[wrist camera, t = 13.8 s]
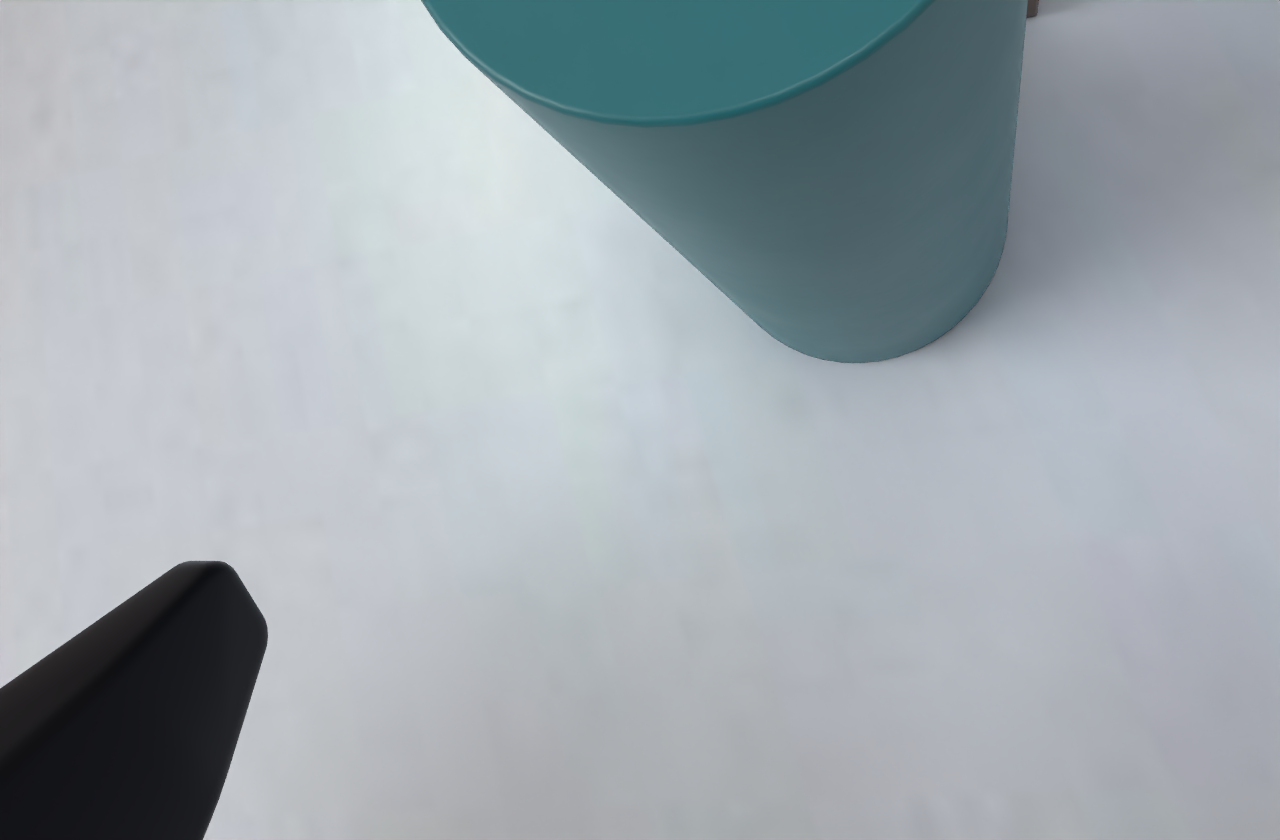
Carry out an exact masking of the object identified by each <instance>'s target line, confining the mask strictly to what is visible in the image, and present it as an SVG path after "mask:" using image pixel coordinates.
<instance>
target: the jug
mask: <svg viewBox="0 0 1280 840" xmlns="http://www.w3.org/2000/svg"><path fill="white" fill-rule="evenodd" d="M421 1H422V2H423V4H424V5H425V7H426V8H427V10H428V11H429V13H430V14H431V16H432V17H433V19H434V20H435V22H436V24H437V25H438V27H439V28H440V30H441V31H442V32H443V33H444V34H445V35H446V36H447V37H448V39H449V40H450V41H451V42H452V43H453V44H454V45H455V46H456V47H457V49H458V50H459V51H460V52H461V53H462V54H463V55H464V56H465V57H466V58H467V59H468V60H469V61H470V62H471V63H472V64H473V65H474V66H475V67H477V68H478V69H479V70H480V71H481V72H482V73H483V74H484V75H485V76H486V77H488V78H489V79H490V80H491V81H492V82H493V83H494V84H495V85H496V86H497V87H498V88H500V89H501V90H502V91H503V92H504V93H505V94H506V95H507V96H508V97H509V98H511V99H512V100H513V101H514V102H515V103H516V104H517V105H518V106H519V107H520V108H521V109H523V110H524V111H525V112H526V113H527V114H528V115H529V116H530V117H531V118H532V119H534V120H535V121H536V122H537V123H538V124H539V125H540V126H541V127H542V128H543V129H544V130H546V131H547V132H548V133H549V134H550V135H551V136H552V137H553V138H554V139H555V140H557V141H558V142H559V143H560V144H561V145H562V146H563V147H564V148H565V149H566V150H567V151H569V152H570V153H571V154H572V155H573V156H574V157H575V158H576V159H577V160H578V161H580V162H581V163H582V164H583V165H584V166H585V167H586V168H587V169H588V170H589V171H590V172H592V173H593V174H594V175H595V176H596V177H597V178H598V179H599V180H600V181H601V182H603V183H604V184H605V185H606V186H607V187H608V188H609V189H610V190H611V191H612V192H613V193H615V194H616V195H617V196H618V197H619V198H620V199H621V200H622V201H623V202H624V203H626V204H627V205H628V206H629V207H630V208H631V209H632V210H633V211H634V212H635V213H636V214H638V215H639V216H640V217H641V218H642V219H643V220H644V221H645V222H646V223H647V224H649V225H650V226H651V227H652V228H653V229H654V230H655V231H656V232H657V233H658V234H659V235H661V236H662V237H663V238H664V239H665V240H666V241H667V242H668V243H669V244H670V245H672V246H673V247H674V248H675V249H676V250H677V251H678V252H679V253H680V254H681V255H682V256H684V257H685V258H686V259H687V260H688V261H689V262H690V263H691V264H692V265H693V266H695V267H696V268H697V269H698V270H699V271H700V272H701V273H702V274H703V275H704V276H705V277H707V278H708V279H709V280H710V281H711V282H712V283H713V284H714V285H715V286H716V287H718V288H719V289H720V290H721V291H722V292H723V293H724V294H725V295H726V296H727V297H728V298H730V299H731V300H732V301H733V302H734V303H735V304H736V305H737V306H738V307H739V308H741V309H742V310H743V311H744V312H745V313H746V314H747V315H748V316H749V317H750V318H751V319H753V320H754V321H755V322H756V323H757V324H758V325H759V326H760V327H761V328H763V329H764V330H765V331H766V332H768V333H769V334H770V335H771V336H772V337H774V338H775V339H777V340H778V341H780V342H782V343H783V344H785V345H787V346H788V347H790V348H792V349H795V350H797V351H799V352H801V353H804V354H806V355H809V356H813V357H816V358H820V359H823V360H829V361H836V362H845V363H864V362H874V361H881V360H886V359H890V358H894V357H899V356H901V355H904V354H907V353H909V352H912V351H915V350H917V349H919V348H921V347H923V346H925V345H927V344H929V343H931V342H933V341H934V340H936V339H937V338H939V337H940V336H942V335H943V334H945V333H946V332H947V331H949V330H950V329H952V328H953V327H954V326H955V325H956V324H957V323H958V322H959V321H960V320H962V319H963V318H964V317H965V316H966V315H967V314H968V312H969V311H970V310H971V309H972V308H973V307H974V305H975V304H976V303H977V302H978V301H979V299H980V298H981V296H982V295H983V293H984V292H985V290H986V288H987V287H988V285H989V284H990V282H991V279H992V277H993V275H994V273H995V271H996V269H997V267H998V264H999V261H1000V258H1001V255H1002V252H1003V248H1004V243H1005V238H1006V232H1007V223H1008V212H1009V201H1010V190H1011V179H1012V168H1013V157H1014V146H1015V135H1016V124H1017V113H1018V102H1019V92H1020V81H1021V70H1022V59H1023V48H1024V37H1025V26H1026V15H1027V4H1028V0H421Z"/></svg>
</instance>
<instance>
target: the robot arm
mask: <svg viewBox="0 0 1280 840" xmlns="http://www.w3.org/2000/svg"><path fill="white" fill-rule="evenodd" d="M267 639H268V631H267V625H266V621H265V619H264V617H263V615H262V613H261V612H260V610H259V608H258V607H257V605H256V604H255V602H254V600H253V599H252V597H251V595H250V594H249V592H248V591H247V589H246V587H245V586H244V584H243V583H242V581H241V579H240V578H239V576H238V574H237V573H236V571H235V570H234V569H233V568H232V567H231V566H230V565H228V564H227V563H225V562H220V561H188V562H183V563H181V564H178V565H177V566H175V567H173V568H172V569H171V570H169V571H168V572H166V573H165V574H163V575H162V576H161V577H159V578H158V579H156V580H155V581H153V582H152V583H151V584H149V585H148V586H146V587H145V588H143V589H142V590H141V591H139V592H138V593H136V594H135V595H133V596H132V597H131V598H129V599H128V600H126V601H125V602H123V603H122V604H121V605H119V606H118V607H116V608H115V609H113V610H112V611H111V612H109V613H108V614H106V615H105V616H103V617H102V618H101V619H99V620H98V621H96V622H95V623H93V624H92V625H91V626H89V627H88V628H86V629H85V630H83V631H82V632H81V633H79V634H78V635H76V636H75V637H73V638H72V639H71V640H69V641H68V642H66V643H65V644H63V645H62V646H61V647H59V648H58V649H56V650H55V651H53V652H52V653H50V654H49V655H48V656H46V657H45V658H43V659H42V660H40V661H39V662H38V663H36V664H35V665H33V666H32V667H30V668H29V669H28V670H26V671H25V672H23V673H22V674H20V675H19V676H18V677H16V678H15V679H13V680H12V681H10V682H9V683H8V684H6V685H5V686H3V687H2V688H0V840H203V838H204V835H205V833H206V831H207V828H208V826H209V823H210V821H211V818H212V816H213V813H214V810H215V808H216V805H217V803H218V800H219V797H220V794H221V791H222V788H223V785H224V782H225V779H226V776H227V773H228V770H229V767H230V764H231V760H232V757H233V754H234V751H235V747H236V744H237V741H238V738H239V735H240V731H241V728H242V725H243V722H244V718H245V715H246V712H247V709H248V705H249V702H250V699H251V696H252V692H253V689H254V686H255V683H256V679H257V676H258V673H259V670H260V666H261V663H262V660H263V657H264V654H265V650H266V646H267Z"/></svg>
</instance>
